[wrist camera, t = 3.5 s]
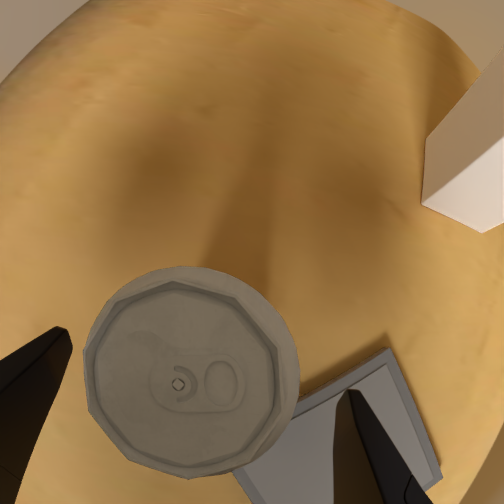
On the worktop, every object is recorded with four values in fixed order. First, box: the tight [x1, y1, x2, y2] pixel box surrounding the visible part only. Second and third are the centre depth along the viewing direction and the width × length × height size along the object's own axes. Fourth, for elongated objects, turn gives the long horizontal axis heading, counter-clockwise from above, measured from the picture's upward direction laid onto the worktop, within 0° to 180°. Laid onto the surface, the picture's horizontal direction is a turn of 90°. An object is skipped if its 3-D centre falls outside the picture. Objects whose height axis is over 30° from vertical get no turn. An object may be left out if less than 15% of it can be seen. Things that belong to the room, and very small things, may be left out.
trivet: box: [232, 347, 443, 504], centre depth 15 cm, size 11×11×1 cm
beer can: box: [83, 266, 300, 480], centre depth 11 cm, size 5×5×12 cm
